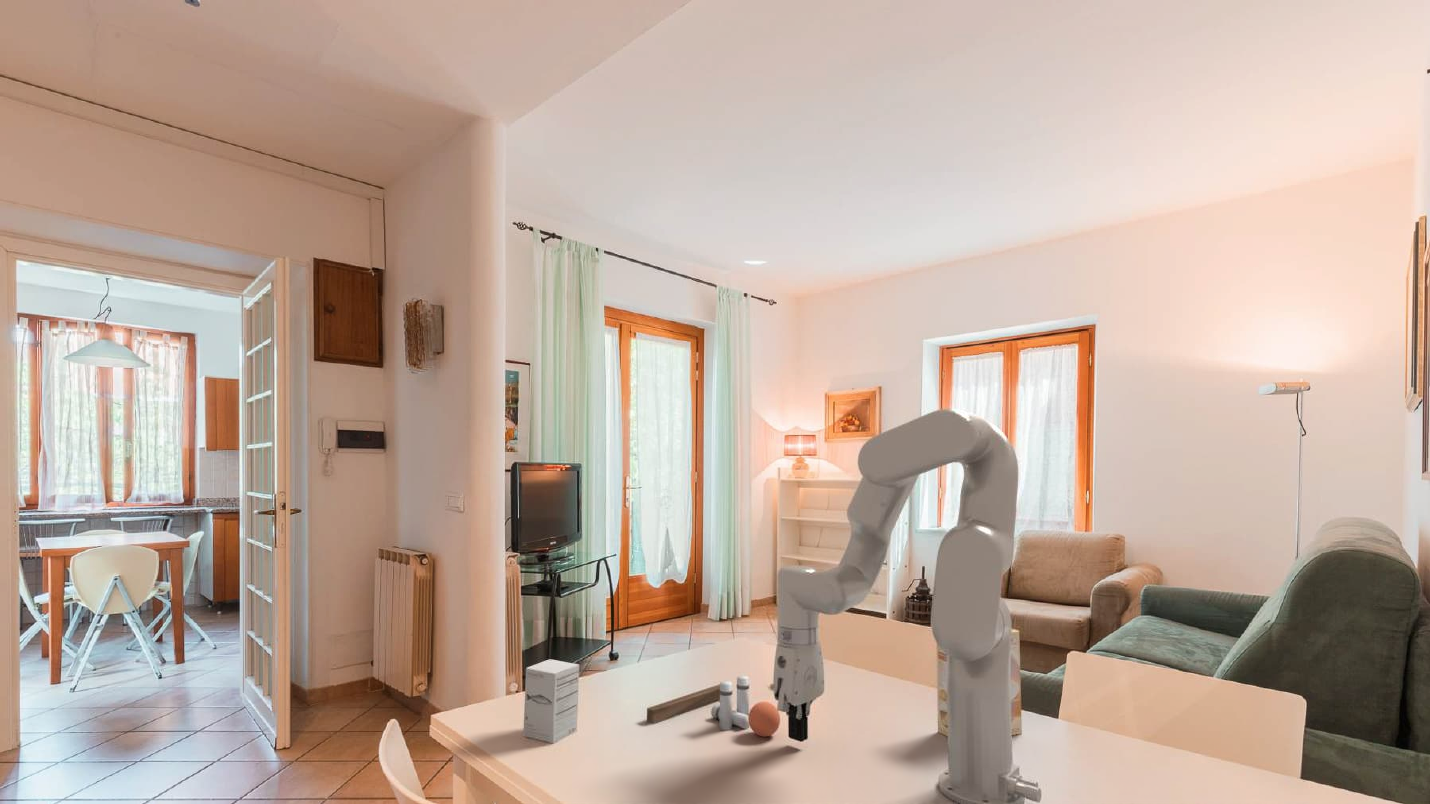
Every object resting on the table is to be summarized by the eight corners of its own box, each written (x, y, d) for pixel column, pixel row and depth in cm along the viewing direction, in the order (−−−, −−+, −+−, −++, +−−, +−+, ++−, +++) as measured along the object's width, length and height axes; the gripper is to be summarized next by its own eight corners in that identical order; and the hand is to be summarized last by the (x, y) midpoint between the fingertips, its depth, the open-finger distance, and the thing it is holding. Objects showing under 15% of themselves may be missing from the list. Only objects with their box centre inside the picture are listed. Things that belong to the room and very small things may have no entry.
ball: (759, 696, 135) (764, 729, 134) (739, 705, 131) (744, 739, 130) (783, 698, 131) (788, 732, 130) (764, 707, 127) (769, 742, 126)
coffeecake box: (962, 745, 126) (959, 636, 128) (936, 731, 133) (934, 628, 134) (1024, 734, 132) (1021, 630, 134) (996, 721, 138) (993, 622, 140)
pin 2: (751, 721, 137) (751, 677, 138) (743, 724, 136) (743, 680, 136) (742, 717, 139) (742, 674, 140) (733, 721, 137) (734, 677, 138)
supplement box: (521, 737, 128) (524, 667, 130) (548, 724, 135) (550, 657, 136) (552, 745, 125) (554, 673, 126) (578, 731, 131) (580, 663, 133)
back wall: (728, 697, 151) (728, 685, 152) (653, 723, 135) (653, 710, 136) (721, 695, 153) (722, 683, 153) (646, 721, 137) (646, 708, 137)
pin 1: (734, 727, 134) (735, 683, 134) (726, 731, 132) (726, 686, 133) (725, 724, 135) (725, 680, 136) (716, 727, 134) (717, 683, 134)
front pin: (751, 714, 135) (719, 703, 140) (742, 716, 133) (711, 705, 139) (750, 727, 134) (718, 716, 140) (742, 730, 132) (710, 718, 138)
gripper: (789, 646, 119) (789, 757, 117) (837, 631, 130) (838, 733, 128) (755, 638, 124) (755, 744, 122) (805, 625, 135) (805, 722, 133)
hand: (798, 738), depth 125 cm, fingers closed
